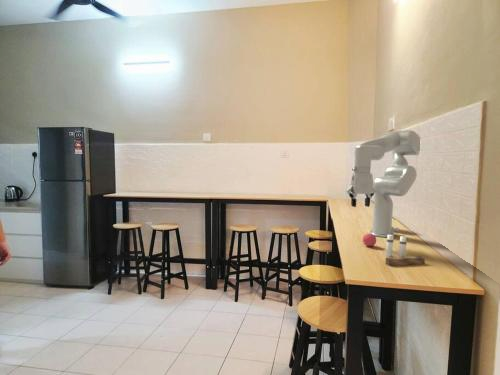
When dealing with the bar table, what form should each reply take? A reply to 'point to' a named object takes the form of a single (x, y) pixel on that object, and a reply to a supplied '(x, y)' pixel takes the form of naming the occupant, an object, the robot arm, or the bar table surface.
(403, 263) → the wall
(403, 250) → the rear pin
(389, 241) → the front pin
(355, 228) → the bar table surface
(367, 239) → the ball
